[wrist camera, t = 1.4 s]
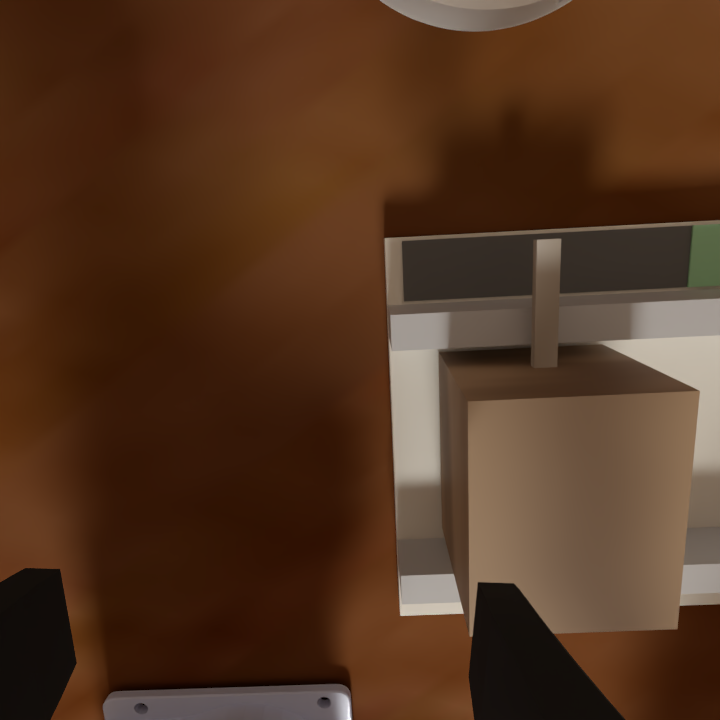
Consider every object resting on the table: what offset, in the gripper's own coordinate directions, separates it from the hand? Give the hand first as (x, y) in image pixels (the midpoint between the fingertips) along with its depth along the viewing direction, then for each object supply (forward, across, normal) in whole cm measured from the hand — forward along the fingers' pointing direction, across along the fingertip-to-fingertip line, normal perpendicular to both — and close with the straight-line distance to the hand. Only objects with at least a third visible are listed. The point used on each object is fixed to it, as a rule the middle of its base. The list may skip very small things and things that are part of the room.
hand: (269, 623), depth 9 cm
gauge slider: (+9, -6, -1) cm, 11 cm away
